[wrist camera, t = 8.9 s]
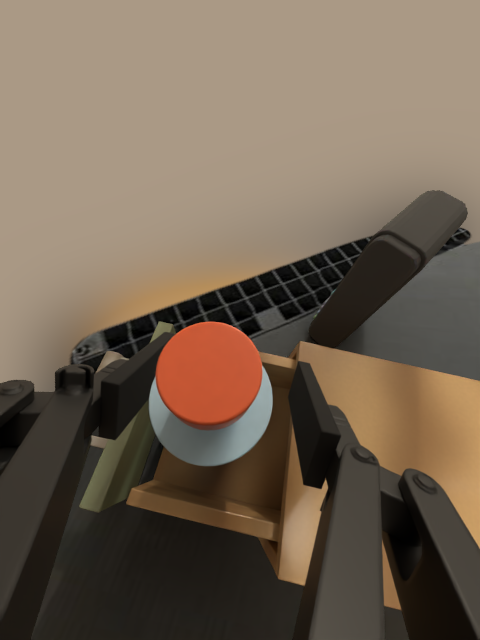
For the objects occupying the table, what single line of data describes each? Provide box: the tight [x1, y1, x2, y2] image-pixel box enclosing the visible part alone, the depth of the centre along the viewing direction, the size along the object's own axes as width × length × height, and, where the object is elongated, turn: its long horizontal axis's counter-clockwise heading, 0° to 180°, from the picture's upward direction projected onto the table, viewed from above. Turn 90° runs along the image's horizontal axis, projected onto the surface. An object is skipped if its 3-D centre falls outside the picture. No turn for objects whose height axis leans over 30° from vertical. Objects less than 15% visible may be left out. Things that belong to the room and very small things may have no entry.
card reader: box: [309, 190, 468, 348], centre depth 23 cm, size 9×4×15 cm, turn 133°
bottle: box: [149, 322, 273, 466], centre depth 14 cm, size 5×5×16 cm
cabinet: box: [258, 341, 480, 610], centre depth 19 cm, size 14×13×8 cm
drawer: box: [79, 322, 296, 542], centre depth 19 cm, size 18×12×7 cm
